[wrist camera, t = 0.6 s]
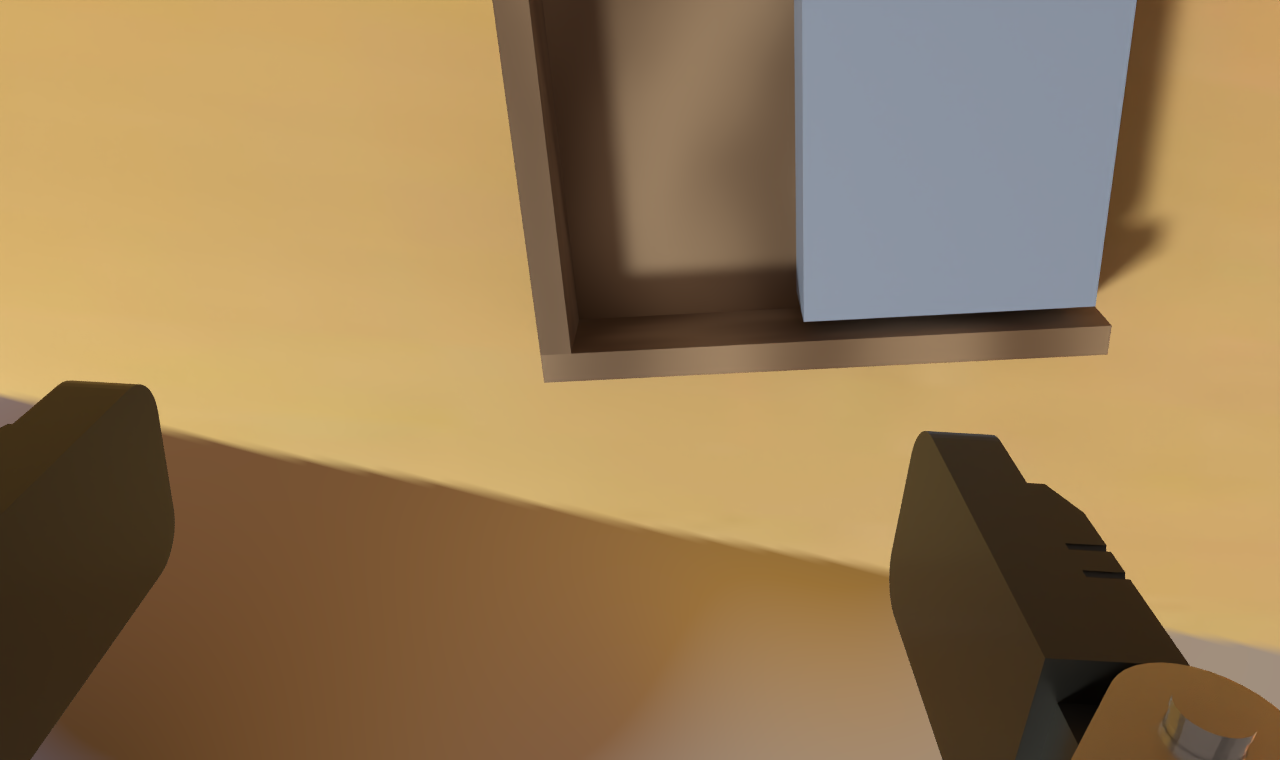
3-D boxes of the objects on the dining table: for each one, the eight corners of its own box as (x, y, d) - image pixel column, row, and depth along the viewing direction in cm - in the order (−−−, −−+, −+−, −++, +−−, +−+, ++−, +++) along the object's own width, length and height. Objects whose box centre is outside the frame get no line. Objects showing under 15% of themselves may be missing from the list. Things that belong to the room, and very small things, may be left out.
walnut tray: (1133, -190, 29) (1186, -194, 26) (1071, 310, 36) (1107, 354, 33) (496, -135, 30) (474, -132, 27) (556, 337, 37) (544, 382, 34)
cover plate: (1117, -124, 29) (1153, -122, 27) (1068, 276, 34) (1095, 306, 32) (793, -97, 29) (801, -92, 27) (796, 291, 35) (804, 321, 33)
